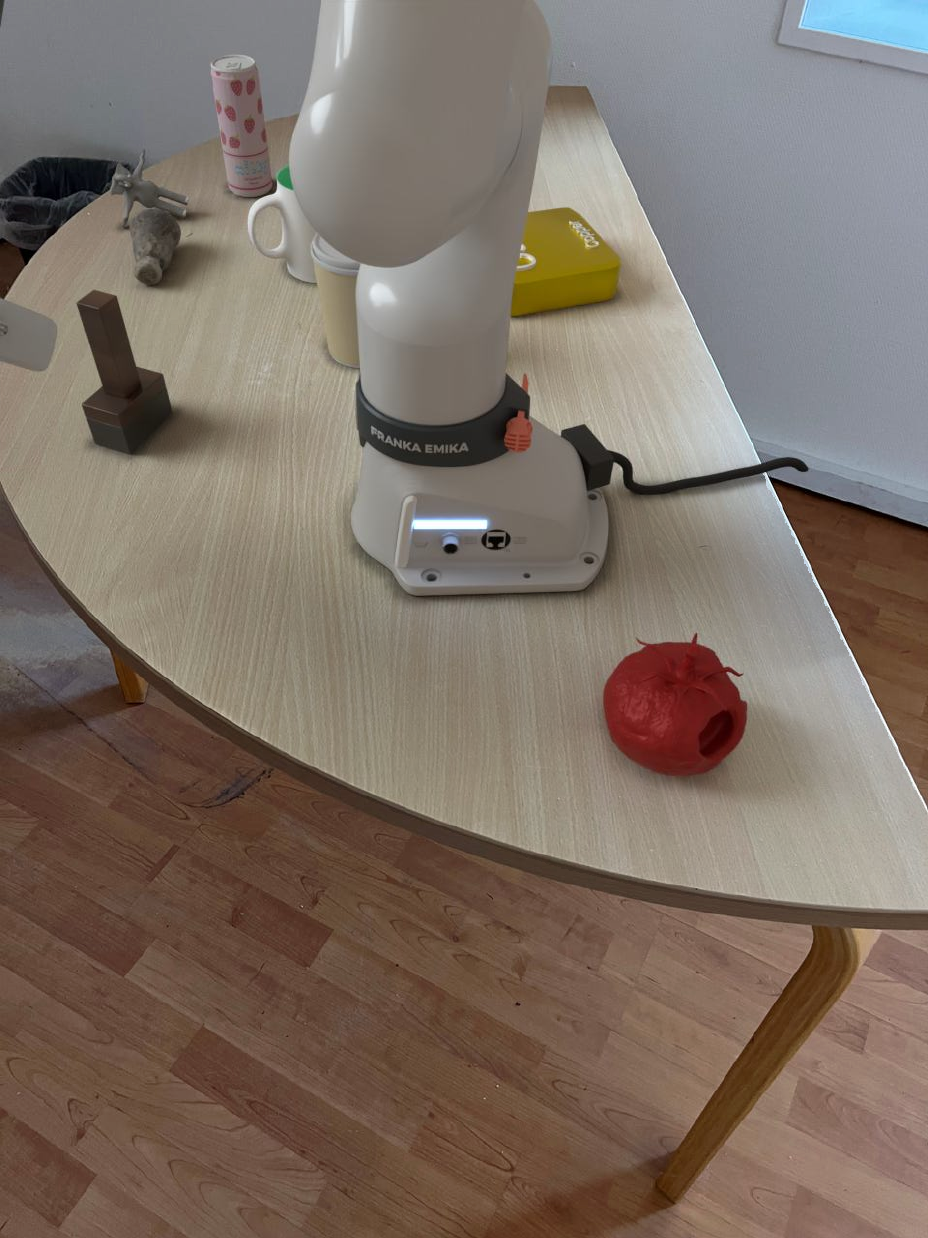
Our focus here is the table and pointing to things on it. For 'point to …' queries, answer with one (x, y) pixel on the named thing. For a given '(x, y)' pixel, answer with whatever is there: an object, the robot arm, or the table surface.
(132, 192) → the elephant figurine
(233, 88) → the beverage can
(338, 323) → the coffee cup
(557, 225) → the element tile
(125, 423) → the brush
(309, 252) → the mug
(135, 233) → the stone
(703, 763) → the red tomato
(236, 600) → the table surface
